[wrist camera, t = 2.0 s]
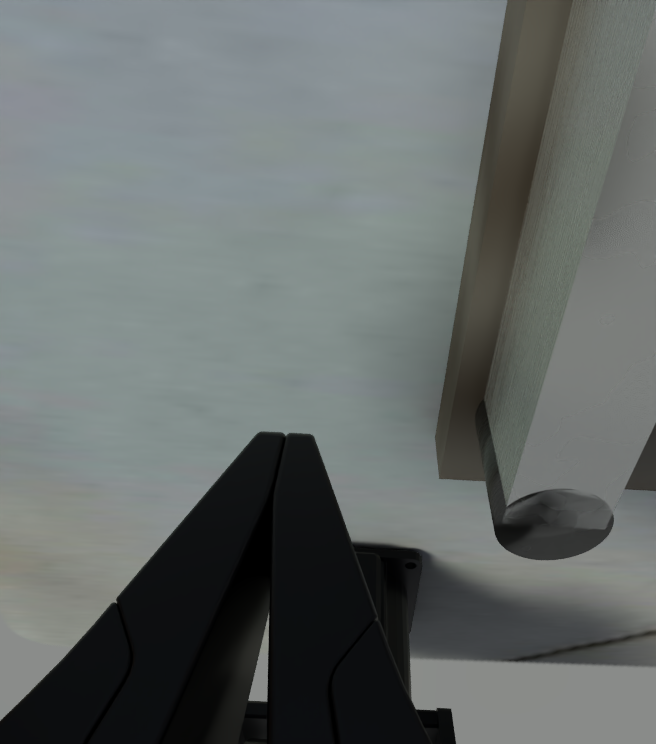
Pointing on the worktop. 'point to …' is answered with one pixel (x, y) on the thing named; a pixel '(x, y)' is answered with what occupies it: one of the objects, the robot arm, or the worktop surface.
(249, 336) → the worktop surface
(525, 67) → the wooden board
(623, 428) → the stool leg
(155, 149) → the worktop surface
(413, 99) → the worktop surface
